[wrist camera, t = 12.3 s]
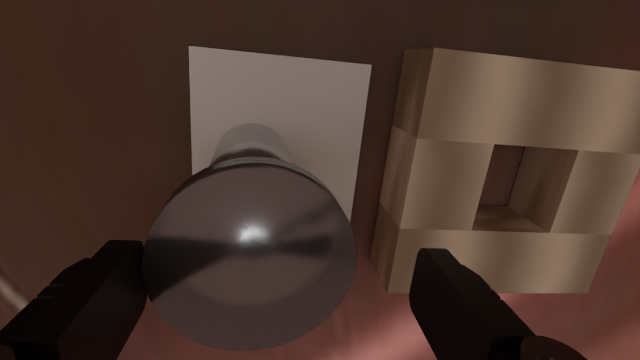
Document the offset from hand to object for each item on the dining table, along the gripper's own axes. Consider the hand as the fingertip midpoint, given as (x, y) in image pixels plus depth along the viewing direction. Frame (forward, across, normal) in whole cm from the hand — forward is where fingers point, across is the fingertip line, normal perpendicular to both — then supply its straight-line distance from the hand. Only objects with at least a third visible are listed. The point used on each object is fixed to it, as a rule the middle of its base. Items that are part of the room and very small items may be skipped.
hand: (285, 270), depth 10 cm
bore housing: (+12, -14, 0) cm, 18 cm away
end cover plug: (+11, +2, 0) cm, 11 cm away
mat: (+12, 0, 0) cm, 12 cm away
